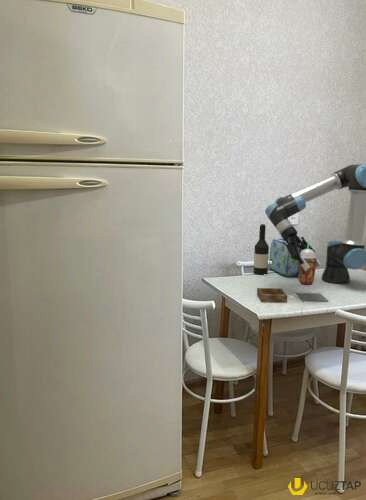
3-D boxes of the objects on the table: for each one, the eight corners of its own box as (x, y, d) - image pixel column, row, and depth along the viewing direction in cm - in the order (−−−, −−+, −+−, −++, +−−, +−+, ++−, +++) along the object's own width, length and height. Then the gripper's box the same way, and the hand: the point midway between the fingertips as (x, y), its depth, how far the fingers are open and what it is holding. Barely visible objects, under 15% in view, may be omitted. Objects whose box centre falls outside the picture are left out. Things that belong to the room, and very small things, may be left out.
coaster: (320, 294, 202) (320, 293, 202) (328, 301, 190) (328, 300, 190) (296, 294, 202) (296, 292, 202) (302, 301, 190) (303, 300, 190)
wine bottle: (267, 275, 240) (270, 225, 234) (253, 274, 241) (255, 224, 236) (267, 272, 248) (269, 223, 242) (253, 271, 249) (255, 223, 244)
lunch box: (302, 278, 235) (305, 242, 231) (285, 278, 233) (288, 243, 229) (283, 268, 260) (284, 236, 256) (267, 268, 258) (269, 236, 254)
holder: (281, 295, 200) (281, 288, 199) (287, 302, 188) (287, 295, 188) (256, 294, 200) (257, 287, 200) (261, 302, 188) (261, 294, 188)
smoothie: (294, 281, 198) (296, 241, 195) (311, 281, 199) (313, 241, 195) (300, 286, 190) (303, 244, 186) (318, 286, 191) (320, 244, 187)
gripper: (295, 233, 209) (320, 268, 199) (268, 237, 196) (294, 275, 186) (304, 224, 204) (331, 260, 194) (277, 227, 191) (305, 266, 181)
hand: (313, 267), depth 190 cm, fingers closed on smoothie, 8 cm apart
